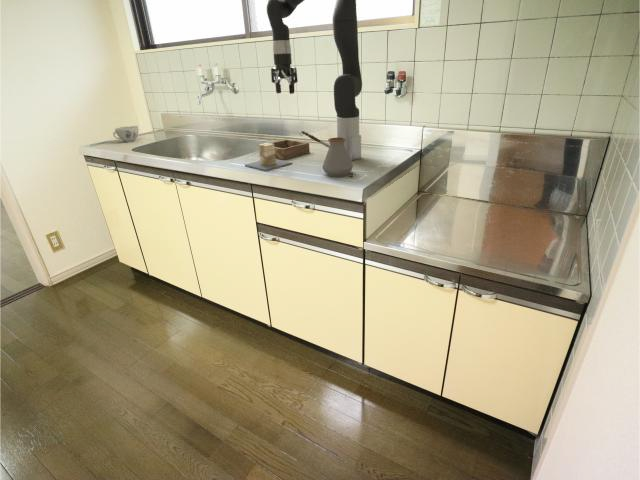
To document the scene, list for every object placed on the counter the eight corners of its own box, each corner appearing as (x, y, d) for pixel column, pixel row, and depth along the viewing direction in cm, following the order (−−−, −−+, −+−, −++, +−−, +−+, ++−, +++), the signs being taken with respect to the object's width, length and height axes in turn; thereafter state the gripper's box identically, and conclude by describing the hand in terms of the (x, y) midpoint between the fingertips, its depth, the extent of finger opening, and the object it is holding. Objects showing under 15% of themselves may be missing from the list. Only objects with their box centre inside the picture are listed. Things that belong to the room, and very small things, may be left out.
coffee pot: (358, 171, 143) (358, 131, 137) (344, 179, 135) (343, 136, 128) (310, 166, 154) (308, 128, 147) (294, 173, 145) (291, 133, 138)
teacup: (133, 138, 233) (130, 125, 229) (145, 140, 226) (142, 126, 222) (110, 143, 222) (106, 129, 218) (121, 144, 215) (117, 130, 211)
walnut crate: (309, 152, 176) (309, 142, 174) (283, 159, 166) (282, 149, 164) (287, 148, 186) (286, 139, 185) (261, 154, 176) (260, 145, 174)
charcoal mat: (292, 163, 158) (292, 162, 158) (265, 171, 150) (265, 169, 149) (271, 159, 167) (270, 158, 167) (244, 166, 159) (244, 164, 158)
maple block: (276, 163, 158) (274, 143, 155) (267, 165, 155) (265, 145, 152) (269, 161, 161) (267, 142, 158) (260, 163, 158) (258, 144, 155)
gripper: (300, 51, 159) (302, 93, 166) (277, 53, 168) (280, 92, 175) (287, 52, 155) (290, 94, 162) (264, 53, 163) (268, 93, 170)
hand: (285, 93), depth 168 cm, fingers open, 8 cm apart
